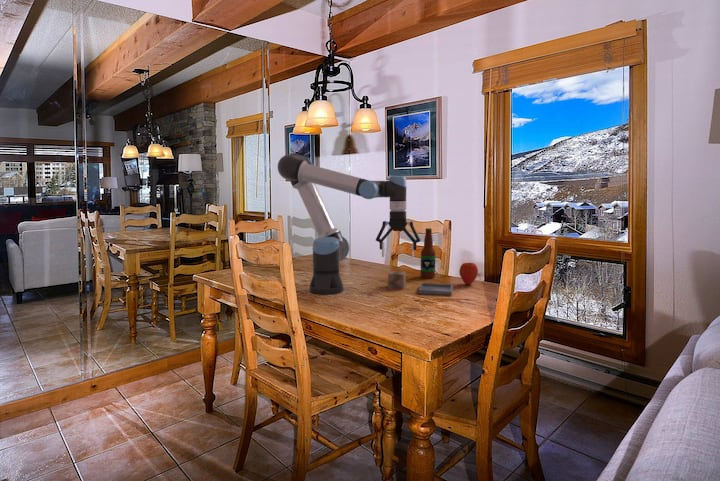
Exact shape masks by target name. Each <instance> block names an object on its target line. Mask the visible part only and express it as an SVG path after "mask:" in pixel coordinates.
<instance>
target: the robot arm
mask: <svg viewBox="0 0 720 481" xmlns="http://www.w3.org/2000/svg"><path fill="white" fill-rule="evenodd" d="M277 171H278V173H279V175H280V177H281V178H283V179H284V180H288V181H289V182H290V184H291V187H292V188H293V189H296V190H297V192H298V194H299V196H300V197H301V200H302V202H303V204H304V207H305V208H306V211H307V213H308V216H309V217H310V220H311V222H312V225H313V226H314V228H315V231H316V233H317V235H318V237H317V238H316V239H314V240H313V242H312V248H311V249H312V270H313V272H312V276H311V280H310V283H309V292H310V293H312V294H318V295H334V294H338V293H339V294H340V293H342V292H344V284H343V281H342V277H341V274H340V262H341V261H344V259H346V258H347V257H348V255H349V252H350V243H349V241H348V240H347V238H345V237H344V236H343V235H342V232H341V230H340V229H338V228H336V227H335V224H334V223H333V221H332V218H331V216H330V214H329V212H328V209H327V207H326V205H325V203H324V200H323V197H322V196H321V194H320V191H319V190H318V187H317V186H316V185H319V186H322V187H326V188H330V189H334V190H337V191H340V192H344V193H347V194H351V195H355V196H357V197H358V196H359V197H362V198H363V199H366V200H373V199H375V198H377V199H378V198H389V210H390V211H389V221H386V220H384V221H382V224H381V228H380V230H379V232H378V234H377V235H376V238H375V242H378V243H379V250H381V257H382V258H384V257H385V239H387V237H388V236H389V235H390V234H391V232H392V231H394V232H402V231H403V233H405V235H406V236H407V237H408V238H409V240H410V241H411V259H413V258H414V257H415V251H417V243H420V242H421V237H420V236H419V234H418V232H417V230H416V228H415V226H414V221H413V220H411V221H407V211H406V210H407V178H406V177H405V176H403V175H401V176H399V175H397V176H396V175H395V176H393V175H391V176H389V179H388V180H370V179H365V178H361V177H359V176H358V177H357V176H354V175H351V174H346V173H343V172H340V171H336V170H331V169H329V168H328V169H327V168H324V167H321V166H317V165H314V164H313V162H312V161H311V160H310V158H308V157H306V156H304V155H301V154H292V153H291V154H290V153H289V154H285V155H283V156H282V157H281V158H280V159H279V160H278V162H277ZM407 225H408V227H410V229H411V231H412V233H413V235H414V236H413V235H412V233H410V231H409V230H408V228H406V227H407ZM387 226H389V227H390V228H388V230H387V232H385V234H384V235H383V233H384V231H385V229H386V227H387ZM382 235H383V236H382Z"/></svg>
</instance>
